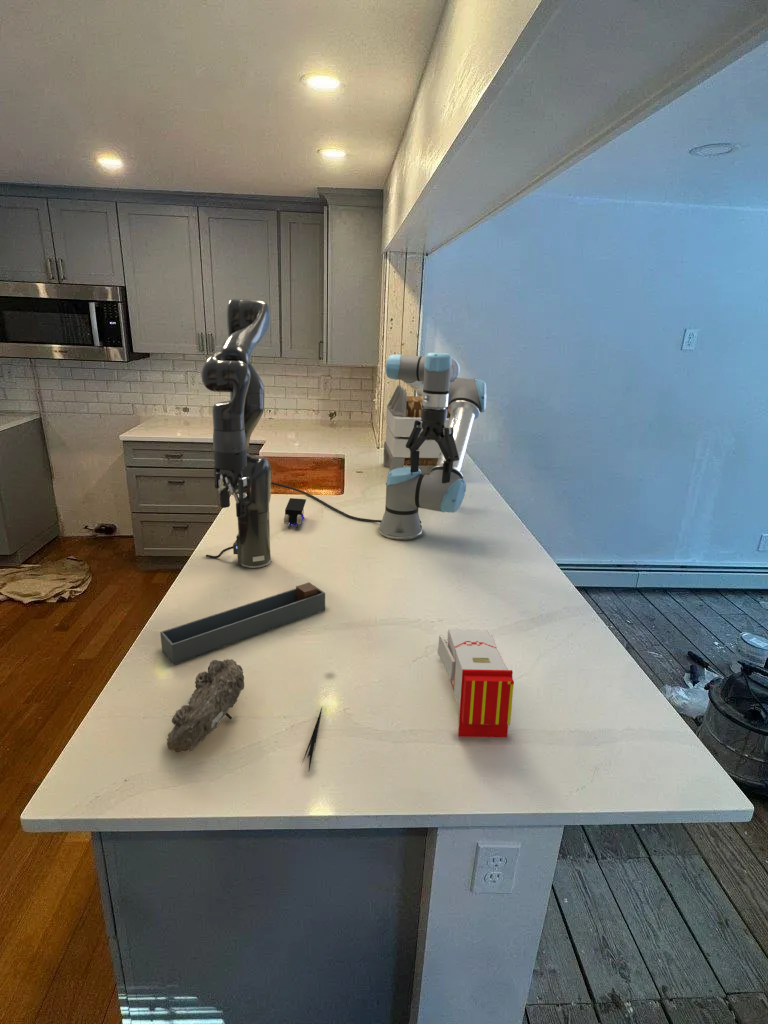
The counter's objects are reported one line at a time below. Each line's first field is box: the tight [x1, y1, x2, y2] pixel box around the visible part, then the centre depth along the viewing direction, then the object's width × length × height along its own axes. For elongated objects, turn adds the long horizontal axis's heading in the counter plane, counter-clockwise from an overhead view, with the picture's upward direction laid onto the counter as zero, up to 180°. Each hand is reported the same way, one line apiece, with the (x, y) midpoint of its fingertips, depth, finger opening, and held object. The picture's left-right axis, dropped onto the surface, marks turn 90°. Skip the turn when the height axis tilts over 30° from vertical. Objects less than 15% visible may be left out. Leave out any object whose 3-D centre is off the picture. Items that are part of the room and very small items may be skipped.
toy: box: [437, 628, 515, 738], centre depth 117 cm, size 12×13×30 cm
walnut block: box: [295, 581, 319, 602], centre depth 147 cm, size 4×4×6 cm
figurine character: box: [283, 497, 307, 529], centre depth 204 cm, size 7×8×15 cm
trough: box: [159, 587, 326, 666], centre depth 137 cm, size 7×40×5 cm, turn 131°
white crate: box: [383, 384, 462, 473], centre depth 268 cm, size 34×33×41 cm
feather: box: [301, 673, 332, 771], centre depth 108 cm, size 2×28×2 cm
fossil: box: [166, 658, 245, 754], centre depth 106 cm, size 22×10×15 cm
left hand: (233, 512), depth 139 cm, fingers open, 8 cm apart
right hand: (429, 477), depth 173 cm, fingers open, 13 cm apart
